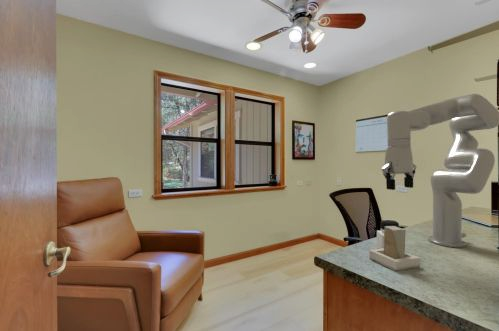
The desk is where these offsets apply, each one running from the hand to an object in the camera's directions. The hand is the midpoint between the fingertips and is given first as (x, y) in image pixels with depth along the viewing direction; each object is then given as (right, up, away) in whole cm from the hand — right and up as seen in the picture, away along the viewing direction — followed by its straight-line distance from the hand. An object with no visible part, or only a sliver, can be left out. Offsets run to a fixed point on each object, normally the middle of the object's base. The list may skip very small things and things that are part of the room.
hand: (400, 188), depth 93 cm
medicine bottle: (-4, -25, 0) cm, 25 cm away
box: (-8, -24, -10) cm, 27 cm away
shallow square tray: (-9, -25, -10) cm, 28 cm away
